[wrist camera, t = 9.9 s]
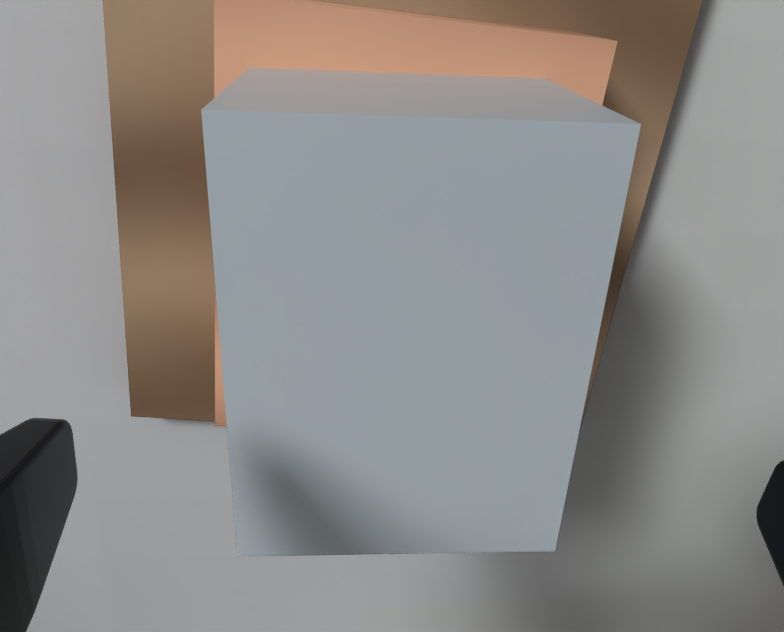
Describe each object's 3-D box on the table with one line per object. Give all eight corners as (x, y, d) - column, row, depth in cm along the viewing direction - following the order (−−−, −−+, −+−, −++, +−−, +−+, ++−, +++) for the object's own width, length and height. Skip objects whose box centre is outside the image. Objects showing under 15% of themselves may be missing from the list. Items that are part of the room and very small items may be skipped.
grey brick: (500, 404, 17) (554, 551, 13) (265, 404, 17) (237, 556, 12) (545, 78, 14) (641, 123, 9) (249, 67, 13) (201, 109, 9)
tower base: (567, 422, 23) (609, 505, 19) (140, 398, 21) (98, 482, 18) (695, -45, 17) (792, -52, 13) (108, -125, 15) (35, -159, 12)
